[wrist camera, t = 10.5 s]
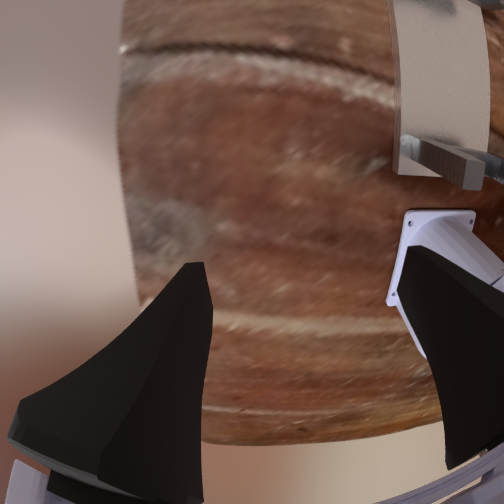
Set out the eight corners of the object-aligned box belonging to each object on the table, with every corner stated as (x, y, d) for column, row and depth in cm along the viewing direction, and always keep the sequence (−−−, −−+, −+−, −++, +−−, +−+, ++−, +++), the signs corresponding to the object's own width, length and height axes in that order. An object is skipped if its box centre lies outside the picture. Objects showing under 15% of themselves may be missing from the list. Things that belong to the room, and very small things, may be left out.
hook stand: (475, 176, 17) (530, 212, 11) (391, 170, 17) (447, 210, 12) (469, -7, 8) (525, -15, 2) (376, -42, 9) (422, -78, 3)
